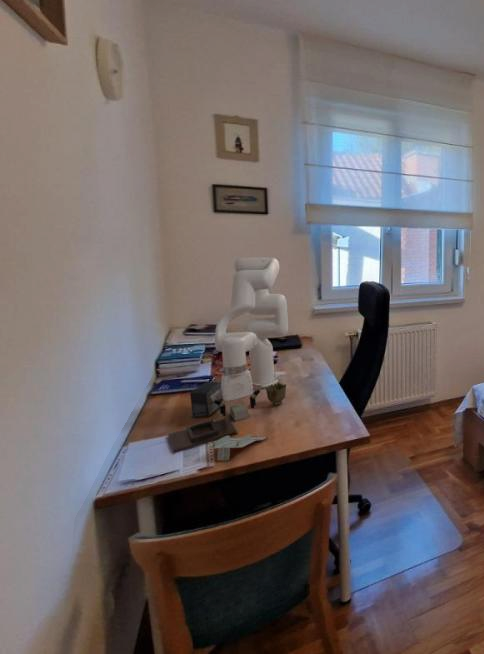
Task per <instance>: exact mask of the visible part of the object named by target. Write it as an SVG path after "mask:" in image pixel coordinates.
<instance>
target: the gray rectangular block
mask: <svg viewBox="0 0 484 654" xmlns="http://www.w3.org/2000/svg"><path fill="white" fill-rule="evenodd" d="M229 411H230V412H229V413H230V416H231V417H232V419H233V420H234V421H235V422H237V421H240V420H244V419H247V418H249V412H248V411H249V410H248V408H247V406H246V404H245V403H244V402H242V403H238V404H234V405H230V406H229Z"/></svg>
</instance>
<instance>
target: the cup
mask: <svg viewBox="0 0 484 654" xmlns="http://www.w3.org/2000/svg"><path fill="white" fill-rule="evenodd" d="M265 391H266V396H267V399H268V401H269V402H271V404H272V406H275V407H277V406H280V405H282V403H283V400H284V399H285V397H286V394H287V384H286V383H284V384H283V383H282V382H278V383H276V384H274V385H272V384H271V386H270V385H269V387H268V386H267V387H266V388H265Z"/></svg>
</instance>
